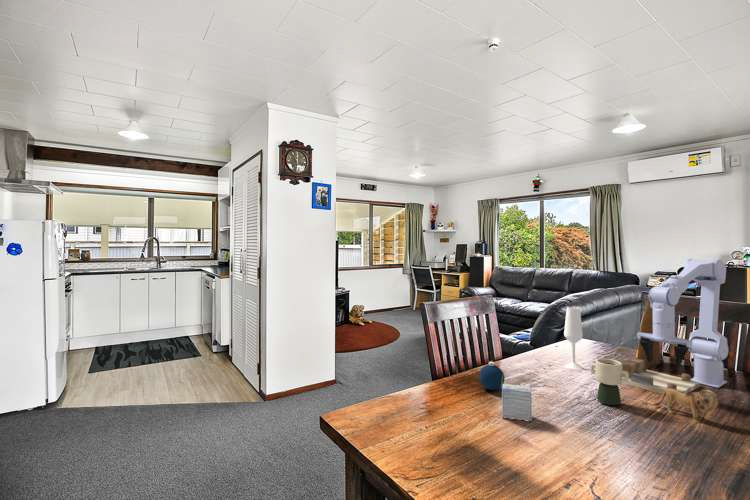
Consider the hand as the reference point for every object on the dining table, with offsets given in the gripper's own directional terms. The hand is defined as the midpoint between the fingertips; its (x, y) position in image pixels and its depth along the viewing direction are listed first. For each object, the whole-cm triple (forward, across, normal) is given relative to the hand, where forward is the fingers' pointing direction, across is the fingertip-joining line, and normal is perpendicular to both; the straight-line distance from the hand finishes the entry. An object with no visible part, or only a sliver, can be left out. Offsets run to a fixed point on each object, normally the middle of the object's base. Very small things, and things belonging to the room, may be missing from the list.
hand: (663, 364), depth 122 cm
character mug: (+10, -7, -22) cm, 25 cm away
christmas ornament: (+10, -35, -42) cm, 56 cm away
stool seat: (+10, -7, +9) cm, 15 cm away
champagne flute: (+10, -32, +4) cm, 33 cm away
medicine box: (+10, -17, -54) cm, 57 cm away
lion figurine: (+10, +10, -13) cm, 19 cm away
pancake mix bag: (+10, -15, +31) cm, 36 cm away
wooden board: (+8, -13, +10) cm, 18 cm away
